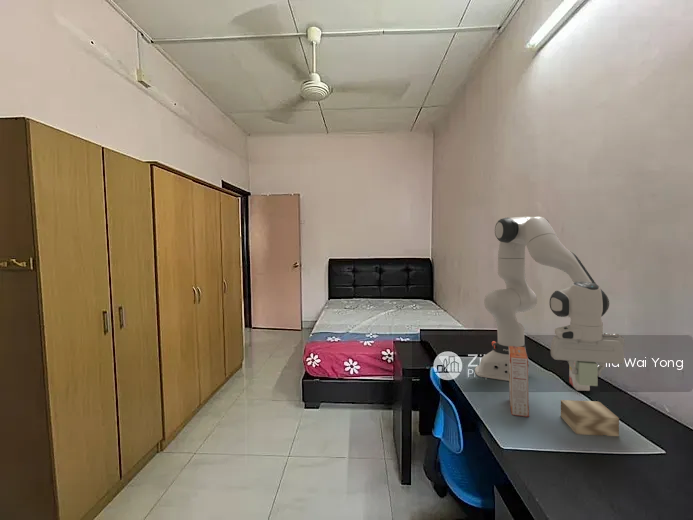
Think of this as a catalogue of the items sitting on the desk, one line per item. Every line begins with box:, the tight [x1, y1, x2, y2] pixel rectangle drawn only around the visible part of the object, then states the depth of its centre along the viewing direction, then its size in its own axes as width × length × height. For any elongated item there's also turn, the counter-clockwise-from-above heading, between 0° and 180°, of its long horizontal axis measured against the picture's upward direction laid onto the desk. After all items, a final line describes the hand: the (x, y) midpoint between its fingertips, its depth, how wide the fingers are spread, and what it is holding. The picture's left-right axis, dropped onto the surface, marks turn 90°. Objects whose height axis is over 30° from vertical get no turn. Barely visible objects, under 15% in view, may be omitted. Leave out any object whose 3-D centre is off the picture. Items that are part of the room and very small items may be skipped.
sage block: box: [575, 361, 599, 387], centre depth 121 cm, size 5×5×7 cm
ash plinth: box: [560, 399, 620, 437], centre depth 121 cm, size 12×12×6 cm
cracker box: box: [508, 346, 530, 418], centre depth 135 cm, size 14×6×21 cm, turn 159°
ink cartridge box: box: [568, 361, 591, 392], centre depth 153 cm, size 9×5×15 cm, turn 168°
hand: (586, 374), depth 121 cm, fingers closed on sage block, 5 cm apart
